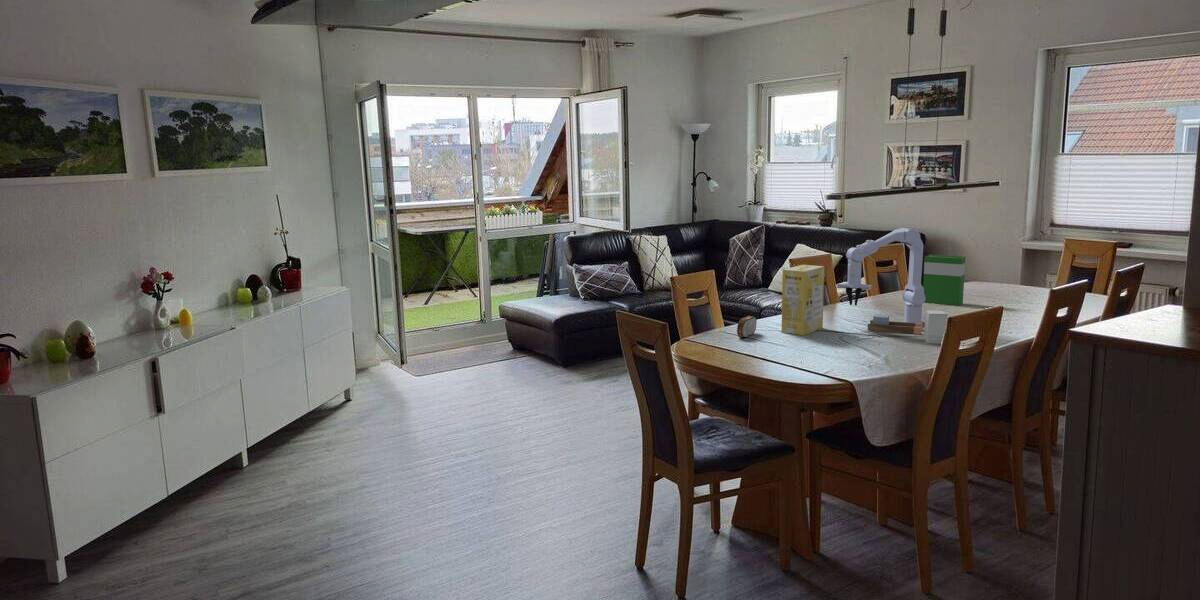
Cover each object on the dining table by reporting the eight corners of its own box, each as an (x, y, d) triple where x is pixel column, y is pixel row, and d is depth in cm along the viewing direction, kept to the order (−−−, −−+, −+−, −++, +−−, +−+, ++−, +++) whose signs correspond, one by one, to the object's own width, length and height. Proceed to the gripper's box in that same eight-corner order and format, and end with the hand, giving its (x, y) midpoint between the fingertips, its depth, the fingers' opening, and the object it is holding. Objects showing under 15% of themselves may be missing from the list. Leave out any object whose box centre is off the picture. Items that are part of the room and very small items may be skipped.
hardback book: (922, 302, 416) (924, 256, 411) (926, 300, 421) (929, 254, 417) (958, 306, 405) (961, 258, 400) (962, 303, 411) (965, 256, 406)
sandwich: (751, 332, 360) (751, 313, 358) (757, 333, 358) (757, 314, 356) (736, 339, 348) (736, 319, 346) (742, 340, 346) (743, 320, 344)
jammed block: (874, 327, 362) (874, 314, 361) (888, 328, 360) (889, 314, 359) (872, 330, 357) (873, 316, 356) (887, 330, 355) (887, 317, 353)
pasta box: (801, 324, 371) (802, 264, 366) (822, 327, 365) (824, 266, 359) (781, 332, 358) (782, 269, 353) (803, 335, 351) (804, 271, 346)
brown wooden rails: (870, 326, 365) (870, 320, 364) (922, 330, 355) (922, 323, 355) (867, 330, 356) (867, 324, 356) (921, 334, 347) (921, 327, 347)
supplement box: (946, 344, 330) (947, 313, 328) (926, 343, 332) (928, 313, 329) (942, 339, 337) (943, 310, 335) (923, 339, 339) (924, 309, 337)
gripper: (836, 275, 359) (835, 305, 361) (870, 276, 352) (869, 307, 355) (838, 273, 365) (837, 302, 367) (872, 274, 359) (871, 304, 361)
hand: (853, 304), depth 362 cm, fingers closed
